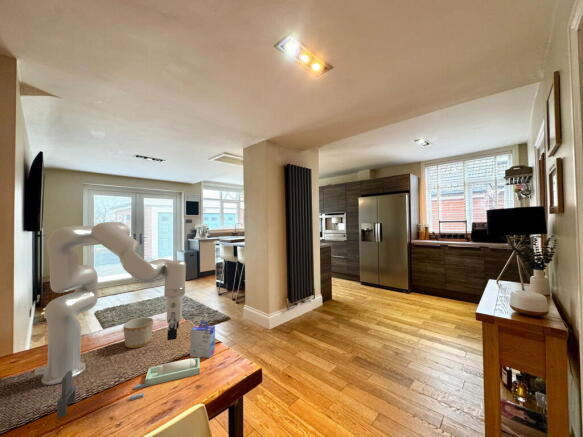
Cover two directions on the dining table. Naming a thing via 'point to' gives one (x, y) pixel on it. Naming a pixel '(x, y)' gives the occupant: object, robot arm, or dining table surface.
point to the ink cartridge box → (202, 341)
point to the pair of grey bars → (138, 394)
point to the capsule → (175, 366)
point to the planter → (138, 332)
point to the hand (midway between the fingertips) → (173, 333)
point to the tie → (66, 395)
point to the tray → (171, 374)
